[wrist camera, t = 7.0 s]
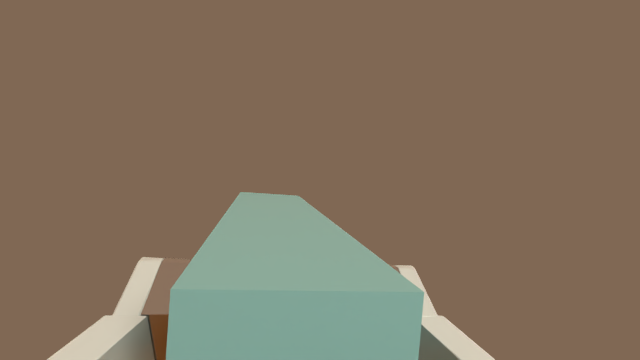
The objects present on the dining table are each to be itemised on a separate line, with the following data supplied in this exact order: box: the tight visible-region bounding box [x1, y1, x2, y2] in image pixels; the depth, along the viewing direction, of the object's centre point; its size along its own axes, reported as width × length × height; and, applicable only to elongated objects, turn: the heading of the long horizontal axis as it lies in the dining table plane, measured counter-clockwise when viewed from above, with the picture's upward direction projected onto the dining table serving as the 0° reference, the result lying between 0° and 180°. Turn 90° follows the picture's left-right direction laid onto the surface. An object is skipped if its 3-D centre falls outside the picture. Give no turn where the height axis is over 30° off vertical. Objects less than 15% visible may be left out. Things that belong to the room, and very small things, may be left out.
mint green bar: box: [166, 192, 424, 360], centre depth 14 cm, size 4×18×3 cm, turn 11°
